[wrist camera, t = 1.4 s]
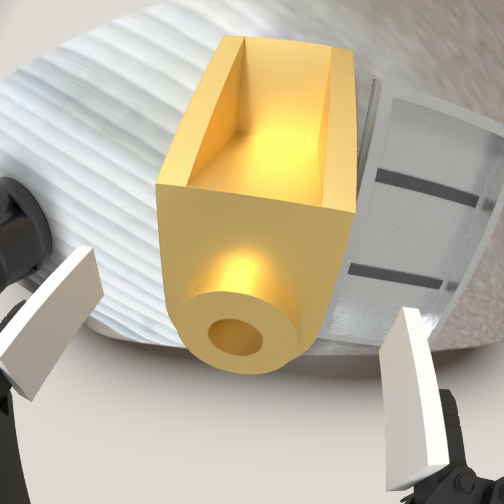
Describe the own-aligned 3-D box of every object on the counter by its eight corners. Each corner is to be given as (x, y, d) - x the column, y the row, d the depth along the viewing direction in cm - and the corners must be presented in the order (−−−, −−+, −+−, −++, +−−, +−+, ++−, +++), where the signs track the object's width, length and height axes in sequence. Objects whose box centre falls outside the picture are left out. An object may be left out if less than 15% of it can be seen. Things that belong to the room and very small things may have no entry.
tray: (315, 315, 36) (314, 337, 34) (373, 78, 22) (382, 81, 19) (421, 329, 35) (426, 350, 32) (506, 126, 21) (525, 136, 18)
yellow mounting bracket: (310, 257, 32) (301, 394, 19) (221, 242, 33) (164, 367, 20) (347, 52, 21) (399, 37, 8) (234, 38, 22) (140, 16, 9)
